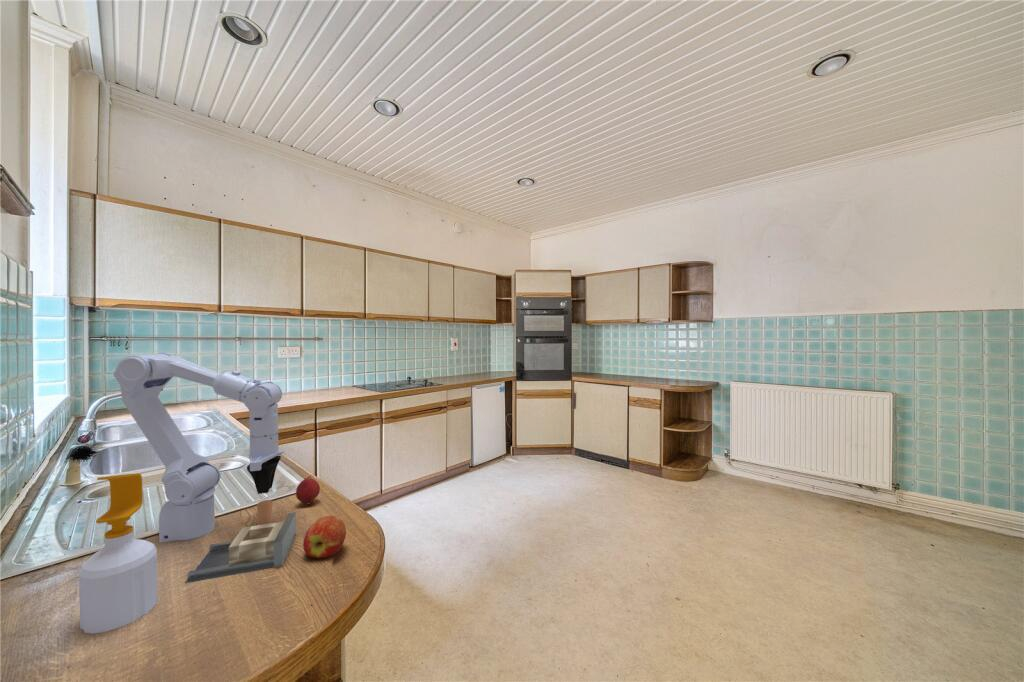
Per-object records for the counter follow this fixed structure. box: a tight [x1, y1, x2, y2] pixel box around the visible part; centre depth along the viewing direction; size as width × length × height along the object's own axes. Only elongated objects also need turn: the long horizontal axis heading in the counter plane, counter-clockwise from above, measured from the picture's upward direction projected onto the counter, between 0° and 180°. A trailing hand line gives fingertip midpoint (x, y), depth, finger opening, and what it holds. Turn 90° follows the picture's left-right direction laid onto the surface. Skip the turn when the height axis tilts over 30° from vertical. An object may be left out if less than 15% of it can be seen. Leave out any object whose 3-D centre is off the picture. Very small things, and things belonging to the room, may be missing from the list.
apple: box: [302, 515, 347, 560], centre depth 82 cm, size 8×8×8 cm
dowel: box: [256, 499, 274, 525], centre depth 91 cm, size 3×3×7 cm
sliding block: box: [229, 521, 284, 565], centre depth 81 cm, size 8×8×4 cm
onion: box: [295, 474, 321, 505], centre depth 106 cm, size 6×6×8 cm
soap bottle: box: [78, 472, 159, 635], centre depth 64 cm, size 9×9×25 cm
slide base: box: [184, 512, 297, 584], centre depth 80 cm, size 16×13×6 cm
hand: (264, 490), depth 91 cm, fingers closed
